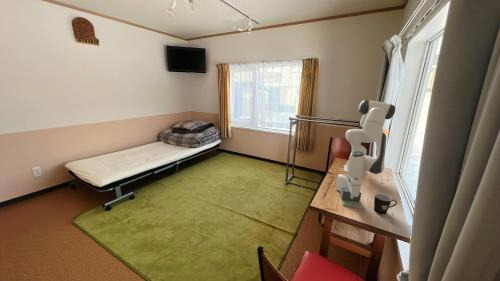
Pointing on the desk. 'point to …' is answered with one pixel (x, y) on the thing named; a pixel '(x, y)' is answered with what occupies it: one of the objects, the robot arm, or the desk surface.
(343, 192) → the block
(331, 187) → the desk surface
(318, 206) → the desk surface
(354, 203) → the board
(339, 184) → the photo printer
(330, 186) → the desk surface
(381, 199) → the coffee mug
